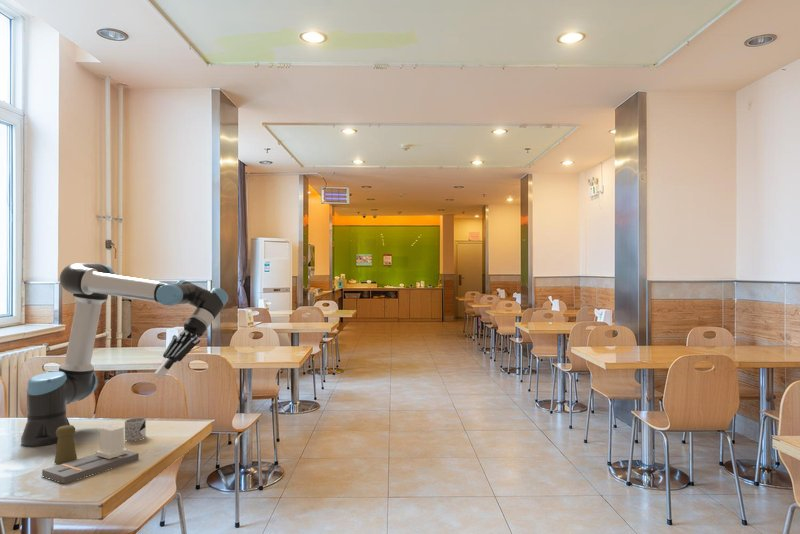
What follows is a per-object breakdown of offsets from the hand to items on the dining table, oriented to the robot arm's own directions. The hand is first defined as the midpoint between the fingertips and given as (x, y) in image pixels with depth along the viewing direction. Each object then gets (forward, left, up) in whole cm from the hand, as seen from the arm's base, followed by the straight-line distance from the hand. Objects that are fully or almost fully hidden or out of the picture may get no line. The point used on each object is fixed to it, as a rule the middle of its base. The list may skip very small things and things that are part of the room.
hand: (157, 375), depth 176 cm
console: (-4, -22, -24) cm, 33 cm away
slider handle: (-3, -16, -22) cm, 27 cm away
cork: (-18, -20, -24) cm, 36 cm away
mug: (-17, +6, -24) cm, 30 cm away
